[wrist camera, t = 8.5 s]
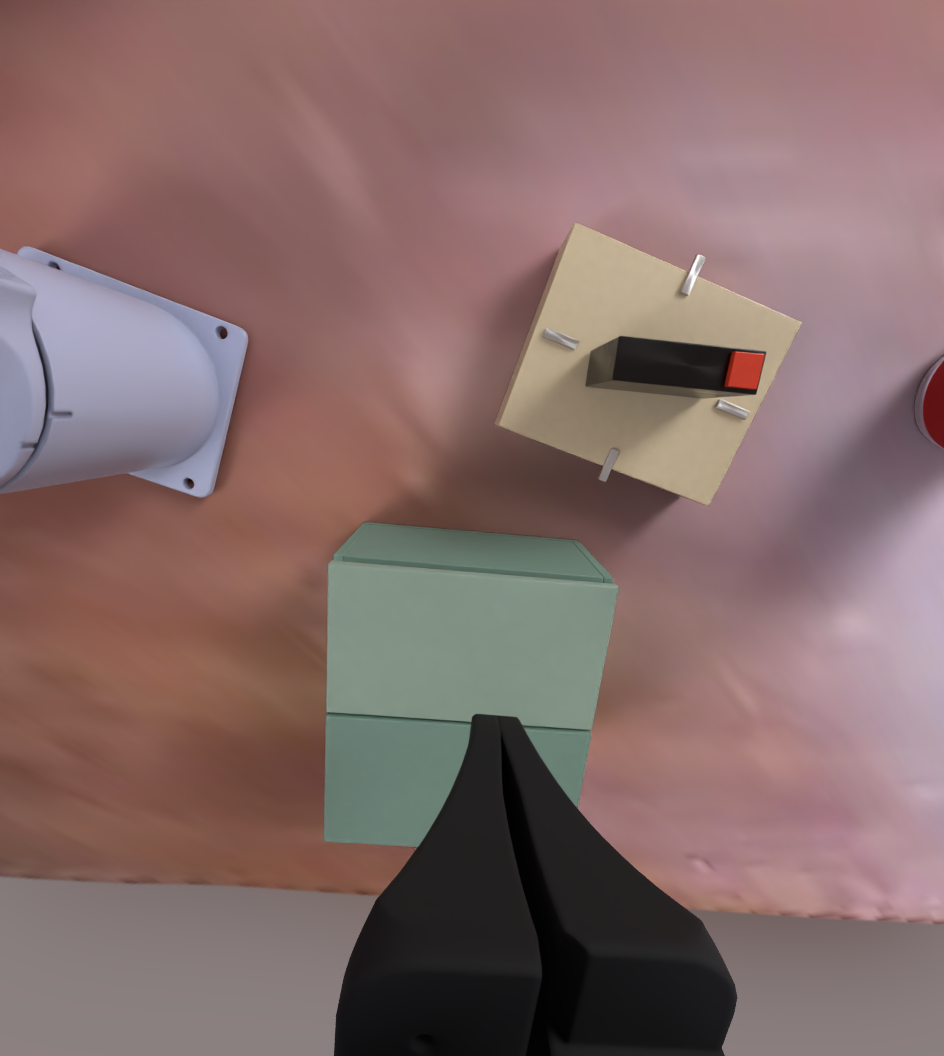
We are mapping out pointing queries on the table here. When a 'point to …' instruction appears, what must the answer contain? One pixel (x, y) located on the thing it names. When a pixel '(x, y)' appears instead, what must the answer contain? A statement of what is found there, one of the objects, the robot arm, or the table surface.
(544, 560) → the carton
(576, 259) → the latch panel
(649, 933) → the robot arm
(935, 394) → the soda can
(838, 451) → the table surface
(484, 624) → the flap
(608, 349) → the latch knob
